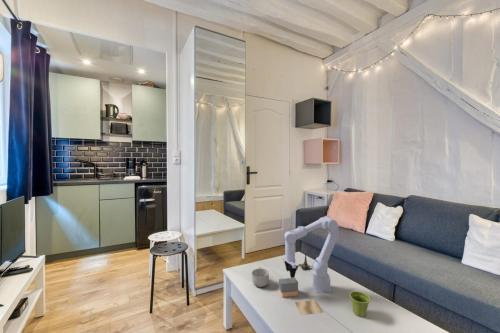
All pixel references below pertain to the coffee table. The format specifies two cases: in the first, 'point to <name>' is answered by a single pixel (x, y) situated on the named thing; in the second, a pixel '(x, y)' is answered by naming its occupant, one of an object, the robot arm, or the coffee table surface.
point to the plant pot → (359, 303)
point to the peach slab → (289, 294)
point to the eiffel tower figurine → (304, 265)
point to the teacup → (260, 277)
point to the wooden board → (308, 307)
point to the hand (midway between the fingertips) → (290, 274)
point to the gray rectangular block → (288, 285)
